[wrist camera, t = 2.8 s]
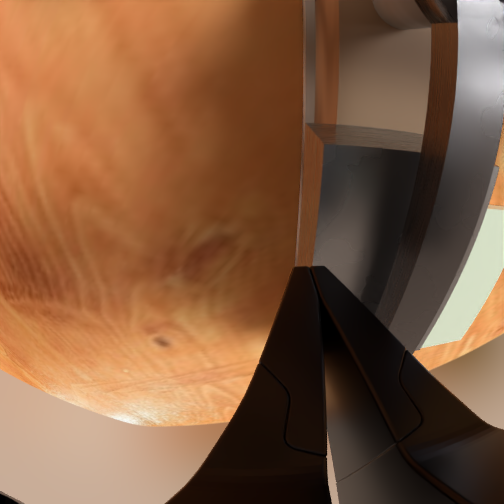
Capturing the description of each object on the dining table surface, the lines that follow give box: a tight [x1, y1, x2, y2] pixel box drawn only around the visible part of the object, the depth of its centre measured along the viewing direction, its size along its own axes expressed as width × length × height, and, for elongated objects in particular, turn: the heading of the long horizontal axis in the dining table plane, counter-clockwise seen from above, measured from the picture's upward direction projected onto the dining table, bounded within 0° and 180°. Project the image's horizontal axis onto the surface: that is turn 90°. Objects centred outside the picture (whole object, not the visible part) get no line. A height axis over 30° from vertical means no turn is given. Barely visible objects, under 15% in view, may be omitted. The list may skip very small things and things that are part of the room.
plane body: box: [295, 0, 431, 266], centre depth 11 cm, size 21×5×7 cm, turn 1°
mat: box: [421, 205, 504, 348], centre depth 18 cm, size 12×14×1 cm
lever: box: [375, 0, 504, 354], centre depth 7 cm, size 16×3×2 cm, turn 1°
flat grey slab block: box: [297, 123, 499, 351], centre depth 10 cm, size 6×9×2 cm, turn 1°
